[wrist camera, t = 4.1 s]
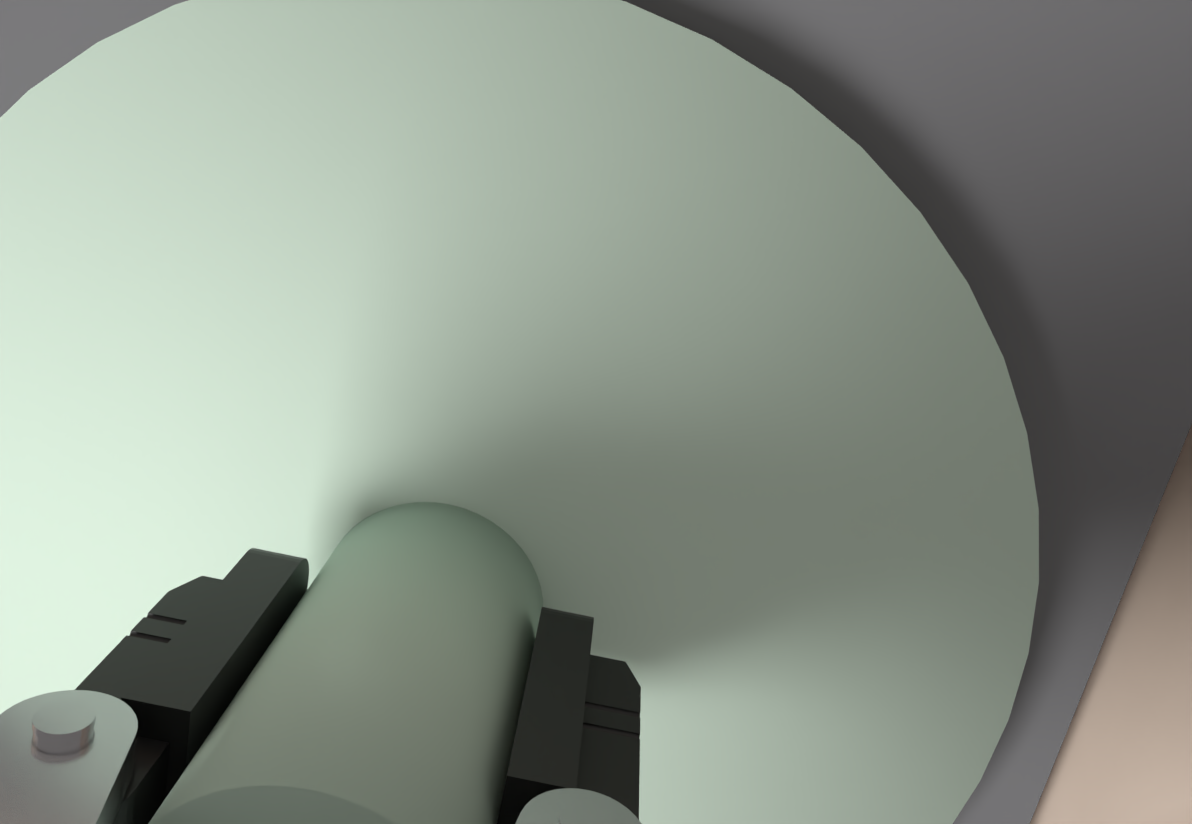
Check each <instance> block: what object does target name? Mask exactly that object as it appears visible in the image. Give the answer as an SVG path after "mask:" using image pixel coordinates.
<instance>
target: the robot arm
mask: <svg viewBox="0 0 1192 824" xmlns="http://www.w3.org/2000/svg"><path fill="white" fill-rule="evenodd" d="M308 579H309V563H308V560H307V559H306V558H301V557H296V556H291V555H286V554H281V553H276V552H271V551H266V550H262V549H257V548H251V549H249V550H248V551H247V552H246V553H245V555H244V556H243V557H242V558H241V559H240V560H239V561H238V563H237V564H236V565H235V566H234V567H233V568H232V570H231V571H230V572H229V573H228V574H227V575H226V576H225V578H224V579H223V580H222V579H217V578H212V577H207V576H200V577H198V578H196V579H194V580H191V581H189V582H187V583H185V584H183V585H181V586H179V587H176V588H174V589H172V590H170V591H168V592H167V593H166V594H165V595H164V596H163V597H162V599H161V600H160V601H159V602H158V603H157V604H156V605H155V606H154V607H153V608H152V609H151V610H150V611H149V612H148V615H147V617H143V618H142V620H141V621H140V622H139V623H138V624H137V625H136V626H135V627H134V628H133V629H132V630H131V633H130V635H129V636H128V635H126V636H125V637H124V638H123V639H122V640H121V642H120V643H119V644H118V645H117V646H116V647H115V648H114V649H113V650H112V651H111V652H110V653H109V654H108V655H107V656H106V657H105V658H104V659H103V660H102V661H101V663H100V664H99V665H98V666H97V667H96V668H95V669H94V670H93V671H92V672H91V673H90V674H89V675H88V676H87V677H86V678H85V679H84V680H83V681H82V682H81V683H80V685H79V686H78V687H77V688H76V689H75V690H65V691H57V692H50V693H46V694H42V695H38V696H34V697H32V698H29V699H26V700H24V701H21V702H19V703H17V704H15V705H13V706H12V707H10V708H9V709H7V710H5V711H4V712H3V713H2V714H0V824H148V823H149V822H150V820H151V819H152V817H153V816H154V815H155V813H156V812H157V810H158V809H159V807H160V806H161V804H162V803H163V801H164V800H165V798H166V797H167V795H168V794H169V792H170V791H171V790H172V788H173V787H174V785H175V784H176V782H177V781H178V779H179V778H180V776H181V775H182V773H183V772H184V770H185V769H186V767H187V766H188V765H189V763H190V762H191V760H192V759H193V757H194V756H195V754H196V753H197V751H198V750H199V748H200V747H201V745H202V744H203V742H204V741H205V740H206V738H207V737H208V735H209V734H210V732H211V731H212V729H213V728H214V726H215V725H216V723H217V722H218V720H219V719H220V717H221V716H222V714H223V713H224V712H225V710H226V709H227V707H228V706H229V704H230V703H231V701H232V700H233V698H234V697H235V695H236V694H237V692H238V691H239V689H240V688H241V687H242V685H243V684H244V682H245V681H246V679H247V678H248V676H249V675H250V673H251V672H252V670H253V669H254V667H255V666H256V664H257V663H258V662H259V660H260V659H261V657H262V656H263V654H264V653H265V651H266V650H267V648H268V647H269V645H270V644H271V642H272V641H273V639H274V638H275V637H276V635H277V634H278V632H279V631H280V629H281V628H282V626H283V625H284V623H285V622H286V620H287V619H288V617H289V616H290V614H291V613H292V612H293V610H294V609H295V607H296V606H297V604H298V603H299V601H300V600H301V598H302V597H303V595H304V594H305V592H306V591H307V587H308ZM593 624H594V617H590V616H585V615H580V614H575V613H570V612H566V611H561V610H556V609H551V608H546V607H542V609H541V613H540V618H539V623H538V628H537V633H536V637H535V642H534V647H533V652H532V657H531V661H530V666H529V671H528V676H527V681H526V685H525V690H524V695H523V700H522V705H521V709H520V714H519V719H518V724H517V729H516V734H515V738H514V743H513V748H512V753H511V758H510V762H509V767H508V772H507V777H506V782H505V787H504V791H503V796H502V801H501V806H500V811H499V816H498V821H497V824H642V823H641V822H640V821H639V776H640V739H639V737H640V710H641V686H640V685H639V683H638V681H637V680H636V678H635V676H634V675H633V673H632V671H631V670H630V668H629V666H628V665H627V663H626V662H625V661H620V660H615V659H610V658H605V657H600V656H595V655H591V654H590V652H591V643H592V633H593Z"/></svg>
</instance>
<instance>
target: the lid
mask: <svg viewBox="0 0 1192 824" xmlns="http://www.w3.org/2000/svg"><path fill="white" fill-rule="evenodd" d="M251 548H257V549H262V550H266V551H271V552H276V553H281V554H286V555H291V556H296V557H301V558H306V559H307V560H308V563H309V579H308V587H307V591H306V592H305V594H304V595H303V597H302V598H301V600H300V601H299V603H298V604H297V606H296V607H295V609H294V610H293V612H292V613H291V614H290V616H289V617H288V619H287V620H286V622H285V623H284V625H283V626H282V628H281V629H280V631H279V632H278V634H277V635H276V637H275V638H274V639H273V641H272V642H271V644H270V645H269V647H268V648H267V650H266V651H265V653H264V654H263V656H262V657H261V659H260V660H259V662H258V663H257V664H256V666H255V667H254V669H253V670H252V672H251V673H250V675H249V676H248V678H247V679H246V681H245V682H244V684H243V685H242V687H241V688H240V689H239V691H238V692H237V694H236V695H235V697H234V698H233V700H232V701H231V703H230V704H229V706H228V707H227V709H226V710H225V712H224V713H223V714H222V716H221V717H220V719H219V720H218V722H217V723H216V725H215V726H214V728H213V729H212V731H211V732H210V734H209V735H208V737H207V738H206V740H205V741H204V742H203V744H202V745H201V747H200V748H199V750H198V751H197V753H196V754H195V756H194V757H193V759H192V760H191V762H190V763H189V765H188V766H187V767H186V769H185V770H184V772H183V773H182V775H181V776H180V778H179V779H178V781H177V782H176V784H175V785H174V787H173V788H172V790H171V791H170V792H169V794H168V795H167V797H166V798H165V800H164V801H163V803H162V804H161V806H160V807H159V809H158V810H157V812H156V813H155V815H154V816H153V817H152V819H151V820H150V822H149V823H148V824H497V821H498V816H499V811H500V806H501V801H502V796H503V791H504V787H505V782H506V777H507V772H508V767H509V762H510V758H511V753H512V748H513V743H514V738H515V734H516V729H517V724H518V719H519V714H520V709H521V705H522V700H523V695H524V690H525V685H526V681H527V676H528V671H529V666H530V661H531V657H532V652H533V647H534V642H535V637H536V633H537V628H538V623H539V618H540V613H541V609H542V607H546V608H551V609H556V610H561V611H566V612H570V613H575V614H580V615H585V616H590V617H594V624H593V633H592V643H591V652H590V654H591V655H595V656H600V657H605V658H610V659H615V660H620V661H625V662H626V663H627V665H628V666H629V668H630V670H631V671H632V673H633V675H634V676H635V678H636V680H637V681H638V683H639V685H640V686H641V710H640V737H639V739H640V776H639V821H640V822H641V823H642V824H953V822H954V821H955V819H956V818H957V816H958V815H959V813H960V811H961V810H962V808H963V807H964V805H965V804H966V802H967V801H968V799H969V798H970V796H971V795H972V793H973V791H974V790H975V788H976V787H977V785H978V784H979V782H980V780H981V778H982V776H983V774H984V772H985V769H986V767H987V765H988V763H989V761H990V759H991V757H992V754H993V752H994V750H995V748H996V746H997V744H998V742H999V739H1000V737H1001V735H1002V733H1003V731H1004V729H1005V727H1006V724H1007V722H1008V720H1009V717H1010V713H1011V710H1012V707H1013V703H1014V700H1015V697H1016V693H1017V690H1018V687H1019V684H1020V680H1021V677H1022V674H1023V670H1024V667H1025V664H1026V660H1027V657H1028V654H1029V647H1030V640H1031V633H1032V626H1033V620H1034V613H1035V606H1036V599H1037V592H1038V586H1039V507H1038V501H1037V494H1036V488H1035V481H1034V475H1033V468H1032V462H1031V455H1030V448H1029V442H1028V435H1027V431H1026V428H1025V425H1024V421H1023V418H1022V415H1021V412H1020V408H1019V405H1018V402H1017V399H1016V396H1015V392H1014V389H1013V386H1012V383H1011V379H1010V376H1009V373H1008V370H1007V366H1006V363H1005V360H1004V357H1003V355H1002V353H1001V351H1000V349H999V347H998V344H997V342H996V340H995V338H994V336H993V334H992V332H991V330H990V328H989V326H988V324H987V321H986V319H985V317H984V315H983V313H982V311H981V309H980V307H979V305H978V303H977V301H976V299H975V296H974V294H973V292H972V290H971V288H970V286H969V284H968V282H967V281H966V279H965V278H964V276H963V275H962V273H961V272H960V270H959V269H958V267H957V266H956V264H955V263H954V261H953V260H952V258H951V257H950V255H949V254H948V252H947V251H946V250H945V248H944V247H943V245H942V244H941V242H940V241H939V239H938V238H937V236H936V235H935V233H934V232H933V230H932V229H931V227H930V226H929V224H928V223H927V221H926V220H925V218H924V217H923V215H922V214H921V212H920V211H919V210H918V209H917V208H916V207H915V206H914V205H913V203H912V202H911V201H910V200H909V199H908V198H907V197H906V196H905V195H904V193H903V192H902V191H901V190H900V189H899V188H898V187H897V186H896V185H895V184H894V182H893V181H892V180H891V179H890V178H889V177H888V176H887V175H886V174H885V172H884V171H883V170H882V169H881V168H880V167H879V166H878V165H877V164H876V163H875V161H874V160H873V159H872V158H871V157H870V156H869V155H868V154H867V153H866V151H865V150H864V149H863V148H862V147H861V146H860V145H859V144H857V143H856V142H855V141H854V140H853V139H851V138H850V137H849V136H848V135H847V134H845V133H844V132H843V131H842V130H841V129H839V128H838V127H837V126H836V125H835V124H833V123H832V122H831V121H830V120H829V119H827V118H826V117H825V116H824V115H823V114H821V113H820V112H819V111H818V110H817V109H815V108H814V107H813V106H812V105H811V104H809V103H808V102H807V101H806V100H805V99H803V98H802V97H801V96H800V95H799V94H797V93H796V92H795V91H794V90H793V89H791V88H790V87H788V86H786V85H785V84H783V83H782V82H780V81H778V80H777V79H775V78H774V77H772V76H770V75H769V74H767V73H765V72H764V71H762V70H761V69H759V68H757V67H756V66H754V65H753V64H751V63H749V62H748V61H746V60H744V59H743V58H741V57H740V56H738V55H736V54H735V53H733V52H732V51H730V50H728V49H727V48H725V47H723V46H722V45H720V44H719V43H717V42H715V41H714V40H712V39H710V38H707V37H705V36H703V35H701V34H698V33H696V32H694V31H692V30H689V29H687V28H685V27H682V26H680V25H678V24H676V23H673V22H671V21H669V20H667V19H664V18H662V17H660V16H657V15H655V14H653V13H651V12H648V11H646V10H644V9H642V8H639V7H637V6H635V5H632V4H630V3H628V2H625V1H622V0H188V1H185V2H182V3H178V4H175V5H173V6H171V7H169V8H167V9H165V10H163V11H161V12H158V13H156V14H154V15H152V16H150V17H148V18H146V19H144V20H142V21H140V22H138V23H136V24H134V25H132V26H130V27H128V28H126V29H124V30H122V31H120V32H118V33H116V34H113V35H111V36H109V37H107V38H105V39H103V40H101V41H99V42H97V43H96V44H94V45H93V46H91V47H90V48H88V49H87V50H86V51H84V52H83V53H81V54H80V55H78V56H77V57H76V58H74V59H73V60H71V61H70V62H68V63H67V64H66V65H64V66H63V67H61V68H60V69H58V70H57V71H56V72H54V73H53V74H51V75H50V76H48V77H47V78H46V79H44V80H43V81H41V82H40V83H38V84H37V85H36V86H34V87H33V88H31V89H30V90H28V91H27V92H26V93H25V94H24V95H23V96H22V97H21V98H20V99H19V100H18V101H17V102H16V103H15V104H14V105H13V106H12V107H11V108H10V109H9V110H8V111H7V112H6V113H5V114H4V115H2V116H1V117H0V714H2V713H3V712H4V711H5V710H7V709H9V708H10V707H12V706H13V705H15V704H17V703H19V702H21V701H24V700H26V699H29V698H32V697H34V696H38V695H42V694H46V693H50V692H57V691H65V690H75V689H76V688H77V687H78V686H79V685H80V683H81V682H82V681H83V680H84V679H85V678H86V677H87V676H88V675H89V674H90V673H91V672H92V671H93V670H94V669H95V668H96V667H97V666H98V665H99V664H100V663H101V661H102V660H103V659H104V658H105V657H106V656H107V655H108V654H109V653H110V652H111V651H112V650H113V649H114V648H115V647H116V646H117V645H118V644H119V643H120V642H121V640H122V639H123V638H124V637H125V636H126V635H128V636H129V635H130V633H131V630H132V629H133V628H134V627H135V626H136V625H137V624H138V623H139V622H140V621H141V620H142V618H143V617H147V615H148V612H149V611H150V610H151V609H152V608H153V607H154V606H155V605H156V604H157V603H158V602H159V601H160V600H161V599H162V597H163V596H164V595H165V594H166V593H167V592H168V591H170V590H172V589H174V588H176V587H179V586H181V585H183V584H185V583H187V582H189V581H191V580H194V579H196V578H198V577H200V576H207V577H212V578H217V579H222V580H223V579H224V578H225V576H226V575H227V574H228V573H229V572H230V571H231V570H232V568H233V567H234V566H235V565H236V564H237V563H238V561H239V560H240V559H241V558H242V557H243V556H244V555H245V553H246V552H247V551H248V550H249V549H251Z"/></svg>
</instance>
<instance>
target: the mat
mask: <svg viewBox="0 0 1192 824" xmlns="http://www.w3.org/2000/svg"><path fill="white" fill-rule="evenodd" d="M185 1H188V0H0V117H1V116H2V115H4V114H5V113H6V112H7V111H8V110H9V109H10V108H11V107H12V106H13V105H14V104H15V103H16V102H17V101H18V100H19V99H20V98H21V97H22V96H23V95H24V94H25V93H26V92H27V91H28V90H30V89H31V88H33V87H34V86H36V85H37V84H38V83H40V82H41V81H43V80H44V79H46V78H47V77H48V76H50V75H51V74H53V73H54V72H56V71H57V70H58V69H60V68H61V67H63V66H64V65H66V64H67V63H68V62H70V61H71V60H73V59H74V58H76V57H77V56H78V55H80V54H81V53H83V52H84V51H86V50H87V49H88V48H90V47H91V46H93V45H94V44H96V43H97V42H99V41H101V40H103V39H105V38H107V37H109V36H111V35H113V34H116V33H118V32H120V31H122V30H124V29H126V28H128V27H130V26H132V25H134V24H136V23H138V22H140V21H142V20H144V19H146V18H148V17H150V16H152V15H154V14H156V13H158V12H161V11H163V10H165V9H167V8H169V7H171V6H173V5H175V4H178V3H182V2H185ZM622 1H625V2H628V3H630V4H632V5H635V6H637V7H639V8H642V9H644V10H646V11H648V12H651V13H653V14H655V15H657V16H660V17H662V18H664V19H667V20H669V21H671V22H673V23H676V24H678V25H680V26H682V27H685V28H687V29H689V30H692V31H694V32H696V33H698V34H701V35H703V36H705V37H707V38H710V39H712V40H714V41H715V42H717V43H719V44H720V45H722V46H723V47H725V48H727V49H728V50H730V51H732V52H733V53H735V54H736V55H738V56H740V57H741V58H743V59H744V60H746V61H748V62H749V63H751V64H753V65H754V66H756V67H757V68H759V69H761V70H762V71H764V72H765V73H767V74H769V75H770V76H772V77H774V78H775V79H777V80H778V81H780V82H782V83H783V84H785V85H786V86H788V87H790V88H791V89H793V90H794V91H795V92H796V93H797V94H799V95H800V96H801V97H802V98H803V99H805V100H806V101H807V102H808V103H809V104H811V105H812V106H813V107H814V108H815V109H817V110H818V111H819V112H820V113H821V114H823V115H824V116H825V117H826V118H827V119H829V120H830V121H831V122H832V123H833V124H835V125H836V126H837V127H838V128H839V129H841V130H842V131H843V132H844V133H845V134H847V135H848V136H849V137H850V138H851V139H853V140H854V141H855V142H856V143H857V144H859V145H860V146H861V147H862V148H863V149H864V150H865V151H866V153H867V154H868V155H869V156H870V157H871V158H872V159H873V160H874V161H875V163H876V164H877V165H878V166H879V167H880V168H881V169H882V170H883V171H884V172H885V174H886V175H887V176H888V177H889V178H890V179H891V180H892V181H893V182H894V184H895V185H896V186H897V187H898V188H899V189H900V190H901V191H902V192H903V193H904V195H905V196H906V197H907V198H908V199H909V200H910V201H911V202H912V203H913V205H914V206H915V207H916V208H917V209H918V210H919V211H920V212H921V214H922V215H923V217H924V218H925V220H926V221H927V223H928V224H929V226H930V227H931V229H932V230H933V232H934V233H935V235H936V236H937V238H938V239H939V241H940V242H941V244H942V245H943V247H944V248H945V250H946V251H947V252H948V254H949V255H950V257H951V258H952V260H953V261H954V263H955V264H956V266H957V267H958V269H959V270H960V272H961V273H962V275H963V276H964V278H965V279H966V281H967V282H968V284H969V286H970V288H971V290H972V292H973V294H974V296H975V299H976V301H977V303H978V305H979V307H980V309H981V311H982V313H983V315H984V317H985V319H986V321H987V324H988V326H989V328H990V330H991V332H992V334H993V336H994V338H995V340H996V342H997V344H998V347H999V349H1000V351H1001V353H1002V355H1003V357H1004V360H1005V363H1006V366H1007V370H1008V373H1009V376H1010V379H1011V383H1012V386H1013V389H1014V392H1015V396H1016V399H1017V402H1018V405H1019V408H1020V412H1021V415H1022V418H1023V421H1024V425H1025V428H1026V431H1027V435H1028V442H1029V448H1030V455H1031V462H1032V468H1033V475H1034V481H1035V488H1036V494H1037V501H1038V507H1039V586H1038V592H1037V599H1036V606H1035V613H1034V620H1033V626H1032V633H1031V640H1030V647H1029V654H1028V657H1027V660H1026V664H1025V667H1024V670H1023V674H1022V677H1021V680H1020V684H1019V687H1018V690H1017V693H1016V697H1015V700H1014V703H1013V707H1012V710H1011V713H1010V717H1009V720H1008V722H1007V724H1006V727H1005V729H1004V731H1003V733H1002V735H1001V737H1000V739H999V742H998V744H997V746H996V748H995V750H994V752H993V754H992V757H991V759H990V761H989V763H988V765H987V767H986V769H985V772H984V774H983V776H982V778H981V780H980V782H979V784H978V785H977V787H976V788H975V790H974V791H973V793H972V795H971V796H970V798H969V799H968V801H967V802H966V804H965V805H964V807H963V808H962V810H961V811H960V813H959V815H958V816H957V818H956V819H955V821H954V822H953V824H1030V822H1031V819H1032V817H1033V814H1034V812H1035V809H1036V807H1037V804H1038V802H1039V799H1040V797H1041V794H1042V792H1043V790H1044V787H1045V785H1046V782H1047V780H1048V777H1049V775H1050V772H1051V770H1052V767H1053V765H1054V762H1055V760H1056V757H1057V755H1058V753H1059V750H1060V748H1061V745H1062V743H1063V740H1064V738H1065V735H1066V733H1067V730H1068V728H1069V725H1070V723H1071V721H1072V718H1073V716H1074V713H1075V711H1076V708H1077V706H1078V703H1079V701H1080V698H1081V696H1082V693H1083V691H1084V688H1085V686H1086V684H1087V681H1088V679H1089V676H1090V674H1091V671H1092V669H1093V666H1094V664H1095V661H1096V659H1097V656H1098V654H1099V652H1100V649H1101V647H1102V644H1103V642H1104V639H1105V637H1106V634H1107V632H1108V629H1109V627H1110V624H1111V622H1112V619H1113V617H1114V615H1115V612H1116V610H1117V607H1118V605H1119V602H1120V600H1121V597H1122V595H1123V592H1124V590H1125V587H1126V585H1127V583H1128V580H1129V578H1130V575H1131V573H1132V570H1133V568H1134V565H1135V563H1136V560H1137V558H1138V555H1139V553H1140V550H1141V548H1142V546H1143V543H1144V541H1145V538H1146V536H1147V533H1148V531H1149V528H1150V526H1151V523H1152V521H1153V518H1154V516H1155V514H1156V511H1157V509H1158V506H1159V504H1160V501H1161V499H1162V496H1163V494H1164V491H1165V489H1166V486H1167V484H1168V482H1169V479H1170V477H1171V474H1172V472H1173V469H1174V467H1175V464H1176V462H1177V459H1178V457H1179V454H1180V452H1181V449H1182V447H1183V445H1184V442H1185V440H1186V437H1187V435H1188V432H1189V430H1190V427H1191V425H1192V0H622Z"/></svg>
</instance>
